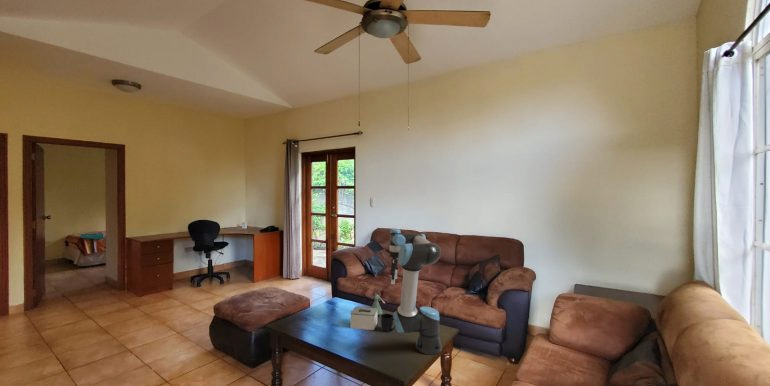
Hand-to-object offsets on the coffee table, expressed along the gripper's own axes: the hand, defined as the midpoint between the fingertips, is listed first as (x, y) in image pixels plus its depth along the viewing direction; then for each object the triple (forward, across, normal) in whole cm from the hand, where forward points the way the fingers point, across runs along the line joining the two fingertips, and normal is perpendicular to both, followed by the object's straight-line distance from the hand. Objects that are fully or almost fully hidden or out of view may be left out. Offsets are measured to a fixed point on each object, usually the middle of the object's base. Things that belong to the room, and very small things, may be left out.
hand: (394, 281), depth 226 cm
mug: (+29, +15, -1) cm, 32 cm away
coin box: (+29, +10, -19) cm, 35 cm away
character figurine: (+29, -8, -15) cm, 33 cm away
